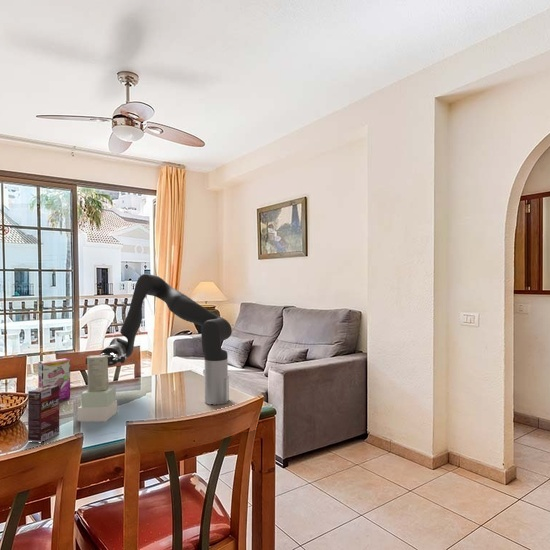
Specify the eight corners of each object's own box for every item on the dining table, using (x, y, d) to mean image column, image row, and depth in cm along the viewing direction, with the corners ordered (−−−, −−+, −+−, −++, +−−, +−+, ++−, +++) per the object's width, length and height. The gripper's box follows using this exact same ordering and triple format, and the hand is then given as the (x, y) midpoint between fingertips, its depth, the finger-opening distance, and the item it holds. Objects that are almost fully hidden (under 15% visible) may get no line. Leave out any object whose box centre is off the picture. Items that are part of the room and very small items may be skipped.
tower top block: (115, 399, 158) (115, 386, 158) (107, 406, 149) (106, 392, 149) (91, 399, 158) (91, 386, 158) (81, 407, 149) (81, 393, 149)
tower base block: (117, 412, 158) (117, 399, 158) (105, 421, 148) (105, 407, 148) (91, 412, 158) (90, 399, 158) (77, 421, 148) (77, 407, 148)
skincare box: (108, 387, 155) (108, 354, 156) (104, 390, 151) (104, 356, 151) (91, 388, 155) (91, 355, 155) (86, 391, 151) (86, 357, 151)
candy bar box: (42, 404, 168) (41, 363, 168) (38, 401, 172) (37, 361, 172) (71, 398, 176) (70, 359, 176) (66, 395, 180) (66, 357, 180)
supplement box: (41, 444, 129) (40, 392, 128) (27, 442, 130) (26, 391, 129) (60, 433, 137) (60, 384, 137) (47, 432, 138) (47, 384, 138)
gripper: (94, 346, 173) (81, 353, 157) (129, 345, 175) (121, 352, 158) (94, 364, 173) (81, 373, 157) (130, 363, 175) (121, 372, 159)
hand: (101, 362), depth 158 cm, fingers open, 8 cm apart
